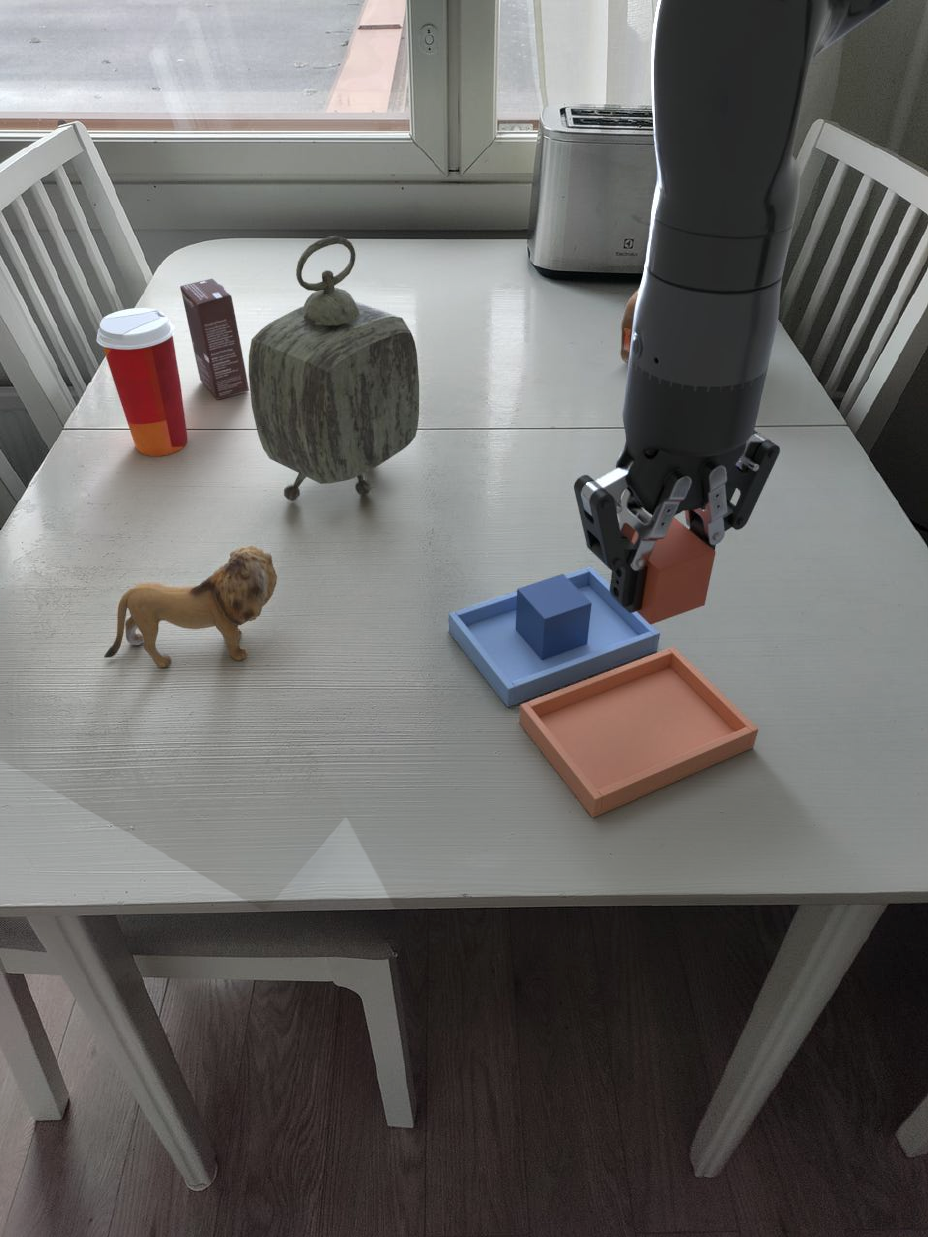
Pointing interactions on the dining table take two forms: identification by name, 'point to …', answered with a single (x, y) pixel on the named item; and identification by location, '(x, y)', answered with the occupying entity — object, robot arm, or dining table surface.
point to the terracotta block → (676, 574)
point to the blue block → (552, 616)
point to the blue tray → (527, 676)
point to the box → (215, 338)
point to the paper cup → (146, 377)
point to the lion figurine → (200, 604)
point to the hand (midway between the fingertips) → (658, 592)
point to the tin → (627, 327)
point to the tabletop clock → (333, 384)
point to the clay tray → (635, 729)
